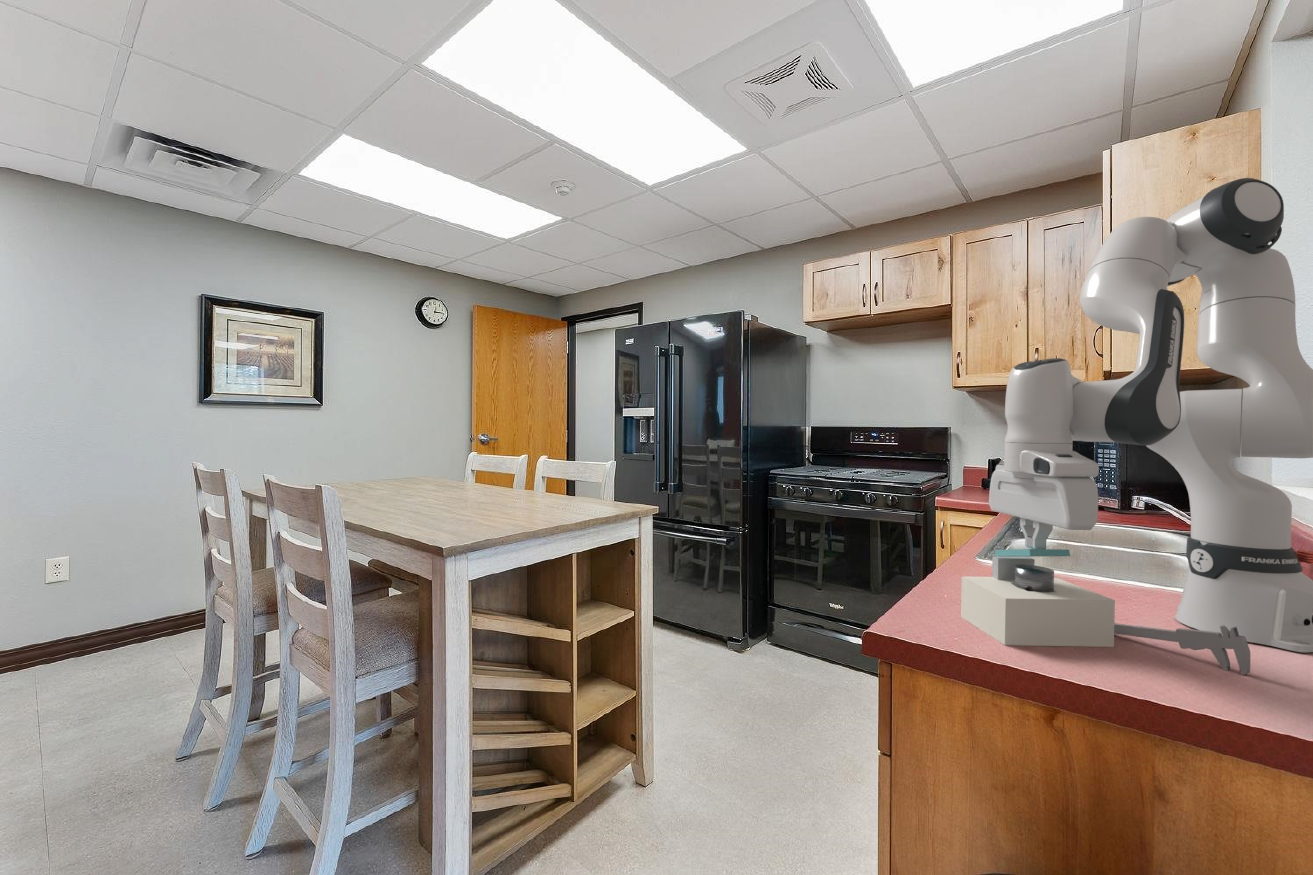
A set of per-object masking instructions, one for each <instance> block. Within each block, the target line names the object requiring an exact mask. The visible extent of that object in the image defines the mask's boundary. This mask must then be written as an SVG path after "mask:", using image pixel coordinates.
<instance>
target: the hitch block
mask: <svg viewBox="0 0 1313 875" xmlns="http://www.w3.org/2000/svg"><path fill="white" fill-rule="evenodd" d="M991 560H992V561H991V568H992V569H991V571H992V572H991V576H964V575H963V576H961V592H960V593H961V596H960V597H961V600H960V604H961V606H960V611H961V612H960V618H962V619H963V620H964V621H966V622H968V623H969V624H971V625H973V626H974V627H975V628H977V629H979V630H980V631H982V632H983V633H985V634H986V635H988V636H990V637H991V638H993V639H994V640H996V641H997V642H999V643H1001V644H1002V645H1003V646H1024V647H1025V646H1028V647H1029V646H1031V647H1032V646H1036V647H1040V646H1042V647H1095V648H1096V647H1097V648H1098V647H1099V648H1100V647H1101V648H1104V647H1105V648H1114V647H1115V634H1114V623H1115V619H1116V618H1115V610H1116V608H1115V605H1116V600H1115V599H1113V598H1111V597H1108V596H1105V595H1103V594H1100V593H1099V592H1095V591H1092V590H1090V589H1087V588H1085V587H1082V586H1081V585H1080V586H1079V585H1076V584H1075V583H1071V582H1068V581H1066V580H1064V579H1061V578H1059V577H1054V591H1053V592H1034V591H1026V590H1024V589H1020V588H1018V587H1016V586H1014V566H1015V565H1034V566H1035V558H1031V557H1030V556H992V559H991Z"/></svg>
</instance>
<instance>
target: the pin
mask: <svg viewBox="0 0 1313 875" xmlns="http://www.w3.org/2000/svg"><path fill="white" fill-rule="evenodd" d="M1054 578H1055V570H1054V569H1051V568H1049V567H1045V566H1040V565H1035V564H1034V565H1015V566H1014V586H1016V587H1018V588H1020V589H1024V590H1026V591H1034V592H1053V591H1054Z"/></svg>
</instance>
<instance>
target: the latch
mask: <svg viewBox="0 0 1313 875" xmlns="http://www.w3.org/2000/svg"><path fill="white" fill-rule="evenodd" d="M994 557H1030V558H1031V557H1071V552H1070V549H1063V548H1062V549H1058V548H1057V549H1056V548H1055V549H1053V548H1052V549H1048V548H1046V549H1031V548H1022V549H1021V548H1020V549H1019V548H1018V549H995V550H994Z"/></svg>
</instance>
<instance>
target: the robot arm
mask: <svg viewBox="0 0 1313 875" xmlns="http://www.w3.org/2000/svg"><path fill="white" fill-rule="evenodd" d="M1284 206H1285V204H1284V200H1283V197H1282V195H1281V193H1280V192H1279V190H1277V188H1276V187H1275V186H1273V185H1272V184H1270V183H1268V182H1266V181H1264V180H1260V179H1258V178H1252V177H1242V178H1238V179H1235V180H1232V181H1229V182H1226V183H1224V184H1222V185H1220V186H1217V187H1215V188H1213V189H1211V190H1210V191H1209V192H1207V193H1206V194H1205V195H1203V196H1202V197H1199V198H1197V199H1196V200H1194V201H1192V202H1191V203H1188V204H1187V205H1185V206H1184V207H1182V208H1179V210H1178V211H1175V212H1174V213H1172V215H1170V216H1169V217H1168V218H1167V219H1162V218H1160V217H1155V216H1154V217H1153V216H1141V217H1135V218H1131V219H1129V220H1126V221H1124V222H1122V223H1120V224H1119V225H1117V226H1116V227H1114V229H1113V230H1112V231H1111V232H1110V233H1109V235H1108V236H1107V237H1106V239H1105V240H1104V242H1103V243H1102V244H1101V246H1100V247H1099V249H1098V250H1097V253H1096V254H1095V256H1094V259H1093V260H1092V263H1091V264H1090V267H1089V269H1088V272H1087V273H1086V275H1085V279H1084V280H1083V284H1082V286H1081V290H1080V294H1079V304H1080V305H1079V306H1080V308H1081V310H1082V311H1083V313H1084V314H1085V316H1086V317H1088V319H1090V320H1091V321H1093V322H1094V323H1095V324H1097V325H1099V326H1101V327H1103V328H1106V329H1109V330H1114V331H1117V332H1118V331H1120V332H1126V333H1132V334H1138V335H1139V339H1138V345H1137V346H1138V348H1137V354H1136V360H1135V361H1136V363H1135V369H1134V370H1133V372H1132V373H1129V374H1128V375H1126V376H1124V377H1122V378H1117V379H1107V380H1105V379H1104V380H1092V381H1082V379H1079V378H1077V377H1076V376H1074V375H1073V374H1072V371H1071V367H1070V363H1069V360H1067V359H1065V358H1061V357H1060V358H1059V357H1058V358H1057V357H1055V358H1054V357H1053V358H1046V359H1038V360H1030V361H1024V362H1020V363H1017V364H1016V365H1015V366H1013V367H1012V368H1011V370H1010V372H1009V375H1008V379H1007V383H1006V389H1005V390H1006V391H1005V404H1004V418H1005V421H1006V423H1007V431H1006V434H1005V437H1004V442H1003V443H1004V448H1003V458H1002V459H1001V460H999V463H998V464H997V465H996V466H995V470H994V471H993V472H992V474H991V478H990V483H989V494H988V505H989V509H990V510H991V511H992V512H997V513H1000V514H1004V515H1008V516H1013V517H1016V518H1019V526H1020V528H1021V531H1022V534H1023V536H1024V546H1025V547H1026V548H1027V549H1047V540H1048V539H1049V537H1050V536H1051V535H1050V534H1051V533H1052V531H1053V530H1054V529H1053V527H1057V528H1060V529H1064V530H1068V531H1091V530H1093V529H1094V527H1095V526H1096V524H1097V522H1098V516H1099V514H1098V513H1099V490H1098V485H1097V483H1096V481H1095V480H1094V479H1093V478H1096V477H1098V476H1099V473H1100V471H1099V470H1100V466H1099V464H1098V463H1097V462H1096V461H1094V460H1093V459H1090V458H1089V457H1086V456H1085V455H1082V454H1080V453H1079V452H1077V451H1075V450H1073V442H1074V441H1075V442H1085V443H1086V442H1087V443H1089V442H1090V443H1091V442H1095V443H1118V444H1126V445H1135V446H1144V447H1145V446H1146V448H1148V449H1149V450H1151V451H1153V452H1154V453H1156V454H1158V455H1160V456H1161V457H1162V458H1163V459H1165V460H1166V461H1167V463H1169V464H1170V465H1171V466H1172V467H1174V469H1175V470H1176V471H1177V472H1178V474H1179V475H1180V477H1181V479H1182V481H1183V484H1184V485H1185V487H1186V490H1187V493H1188V500H1189V508H1190V509H1189V511H1190V536H1188V537H1187V539H1186V546H1185V548H1186V550H1185V551H1186V552H1185V553H1186V555H1185V557H1186V558H1187V562H1188V567H1187V569H1186V574H1185V578H1184V585H1183V589H1182V595H1181V598H1180V603H1179V604H1177V612H1176V614H1175V616H1174V618H1175V620H1176V621H1178V622H1179V623H1181V624H1184V625H1185V626H1187V627H1190V628H1192V629H1194V630H1202V631H1211V632H1219V633H1221V634H1222V632H1221V629H1220V626H1223V625H1224V626H1226V627H1227V629H1228V630H1229V631H1230V630H1231V628H1233V627H1237V630H1238V634H1239V635H1240V636H1245V638H1246V641H1247V643H1248V642H1249V643H1254V644H1259V645H1265V646H1271V647H1275V648H1279V649H1281V650H1282V649H1283V650H1287V651H1292V652H1296V653H1313V579H1312V578H1310V577H1309V576H1307V575H1306V574H1305V573H1303V571H1304V569H1303V567H1302V565H1301V563H1305V564H1307V565H1308V564H1309V565H1313V551H1311V550H1309V551H1308V550H1305V549H1298V550H1296V551H1295V549H1294V548H1293V547H1292V546H1291V545H1292V542H1291V541H1292V517H1293V516H1292V514H1293V512H1292V509H1293V505H1292V502H1291V500H1290V498H1289V497H1288V495H1287V494H1286V493H1285V492H1284V491H1283V490H1282V489H1280V488H1277V487H1276V486H1273V485H1271V484H1270V483H1267V482H1264V481H1263V480H1260V479H1257V478H1255V477H1252V476H1248V475H1247V474H1243V473H1242V472H1240V471H1239V470H1237V469H1236V468H1235V465H1233V461H1234V459H1236V458H1243V457H1244V458H1245V457H1247V458H1275V459H1276V458H1278V459H1312V458H1313V368H1312V367H1311V366H1310V365H1309V364H1308V363H1307V362H1306V360H1305V358H1304V357H1303V355H1302V354H1301V350H1300V348H1299V342H1298V336H1297V328H1296V327H1297V326H1296V325H1297V324H1296V323H1297V322H1296V308H1297V307H1296V293H1295V292H1296V291H1295V290H1296V289H1295V285H1294V279H1293V274H1292V270H1291V267H1290V265H1289V262H1288V259H1287V257H1286V256H1285V255H1284V253H1282V252H1280V251H1279V250H1276V249H1273V248H1272V247H1273V246H1275V244H1276V243H1277V242H1278V241H1279V239H1280V237H1281V235H1282V230H1283V227H1282V225H1283V222H1284V219H1285V218H1284V215H1285V214H1284V212H1285V210H1284V209H1285V208H1284ZM1269 243H1270V244H1269ZM1194 275H1195V276H1196V277H1197V279H1198V281H1199V283H1200V285H1201V293H1200V297H1199V298H1200V299H1199V304H1198V306H1199V307H1198V317H1197V318H1198V321H1197V341H1196V354H1197V357H1198V359H1199V360H1200V362H1202V364H1204V365H1205V366H1207V367H1208V368H1210V369H1212V370H1214V371H1216V372H1219V373H1222V374H1226V375H1229V376H1232V377H1233V376H1234V377H1236V378H1239V379H1240V380H1242V381H1244V382H1246V384H1248V385H1249V386H1248V387H1244V388H1231V389H1230V388H1229V389H1227V388H1226V389H1224V388H1223V389H1201V390H1199V389H1197V390H1193V389H1192V390H1183V391H1180V377H1181V366H1182V358H1183V348H1184V347H1183V346H1184V337H1185V336H1184V334H1185V311H1184V306H1183V303H1182V301H1181V299H1180V298H1179V296H1178V295H1177V294H1176V293H1175V291H1173V290H1168V287H1169V286H1172V285H1176V284H1179V283H1182V282H1184V280H1186V279H1188V278H1189V277H1192V276H1194ZM1222 636H1223V634H1222Z"/></svg>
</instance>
